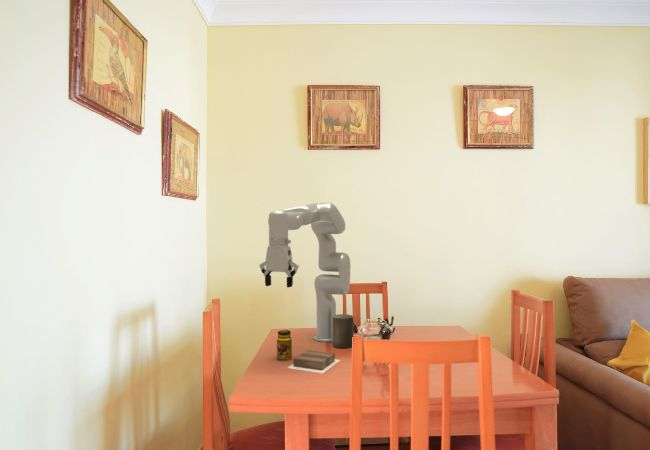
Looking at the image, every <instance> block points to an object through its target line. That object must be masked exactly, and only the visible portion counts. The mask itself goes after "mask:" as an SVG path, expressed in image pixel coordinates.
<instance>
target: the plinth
mask: <svg viewBox="0 0 650 450" xmlns="http://www.w3.org/2000/svg"><path fill="white" fill-rule="evenodd" d="M335 359H336V358H335V353H333V352H332V353H330V352H324V351H315V350H308V349H307V350H306V351H304V352H303V353H301V354H299V355H297V356H296V357H294V358H293V364H294V366H295V367H301V368H308V369H315V370H323V369H325V368H326V367H327V366H329V365H330V364H332V363H333V362H334V361H335Z"/></svg>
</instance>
